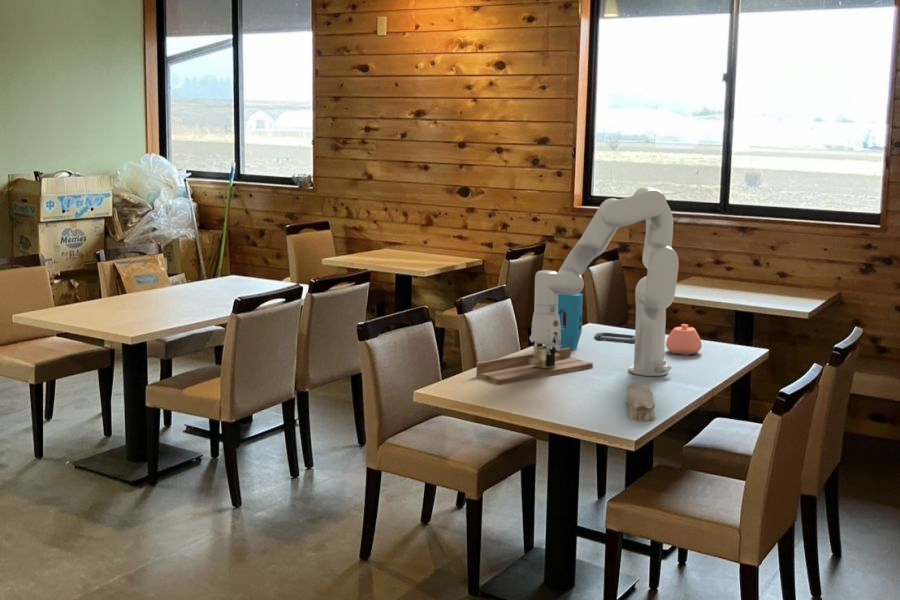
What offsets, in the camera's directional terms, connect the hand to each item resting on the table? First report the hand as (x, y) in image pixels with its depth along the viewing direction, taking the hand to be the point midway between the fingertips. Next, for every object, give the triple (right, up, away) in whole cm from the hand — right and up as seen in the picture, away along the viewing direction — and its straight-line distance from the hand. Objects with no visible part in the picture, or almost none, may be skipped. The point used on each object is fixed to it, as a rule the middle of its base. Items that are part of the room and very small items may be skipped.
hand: (544, 363), depth 317 cm
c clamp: (+33, +5, +49) cm, 59 cm away
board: (-3, -3, 0) cm, 4 cm away
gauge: (0, -1, 0) cm, 1 cm away
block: (+10, +3, +35) cm, 37 cm away
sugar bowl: (+53, +2, +30) cm, 61 cm away
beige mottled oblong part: (+23, -11, -40) cm, 48 cm away
